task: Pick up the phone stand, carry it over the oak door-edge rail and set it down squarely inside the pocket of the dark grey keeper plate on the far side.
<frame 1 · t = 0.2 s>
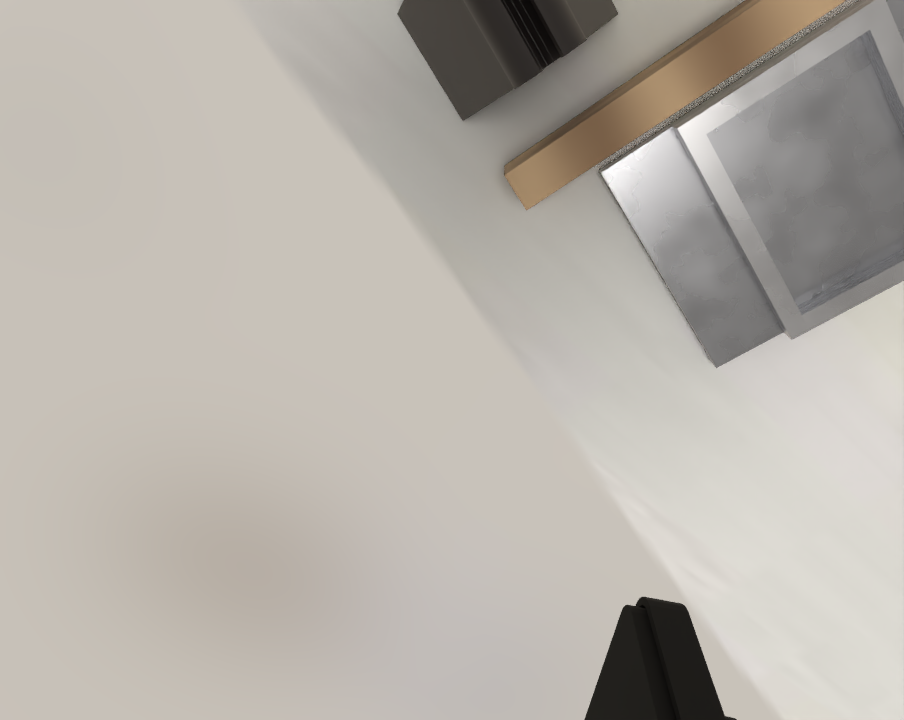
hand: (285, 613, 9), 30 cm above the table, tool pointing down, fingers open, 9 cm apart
door edge rail: (703, 54, 33), on the table
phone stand: (506, 14, 34), on the table
keeper plate: (814, 177, 35), on the table
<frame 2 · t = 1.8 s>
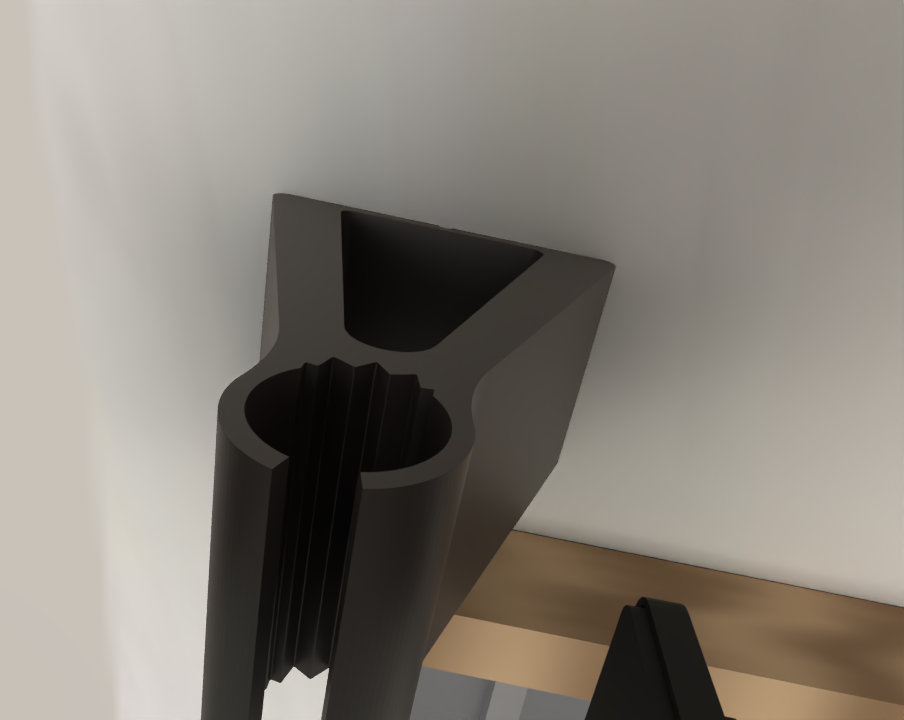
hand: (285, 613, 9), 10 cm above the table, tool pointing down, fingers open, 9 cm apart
door edge rail: (609, 575, 21), on the table
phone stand: (427, 328, 19), on the table
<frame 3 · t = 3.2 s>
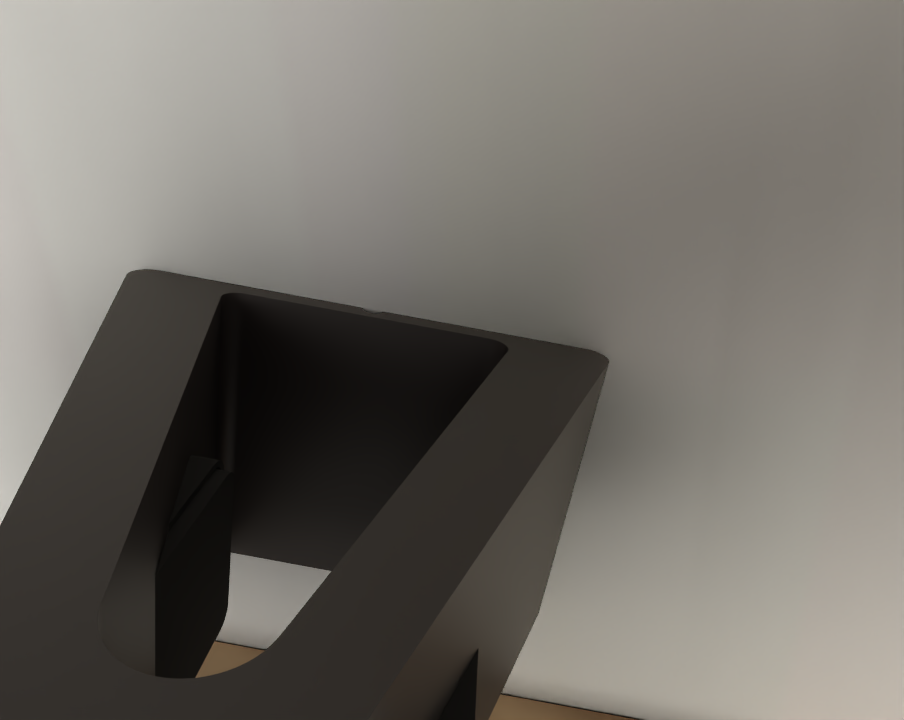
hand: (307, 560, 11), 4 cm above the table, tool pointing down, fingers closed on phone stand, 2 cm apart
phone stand: (356, 440, 14), on the table, touching gripper
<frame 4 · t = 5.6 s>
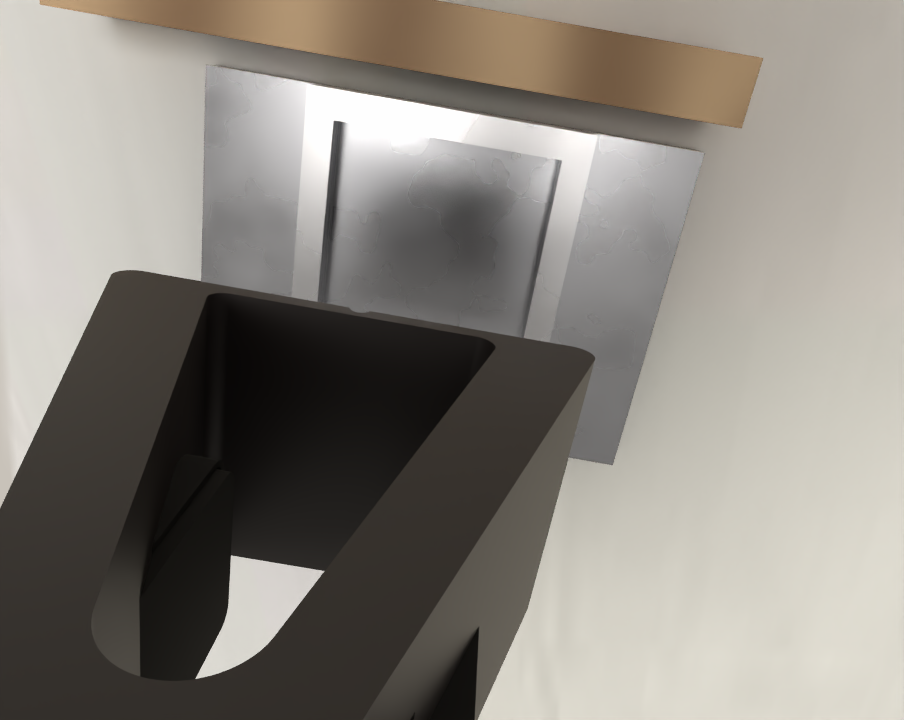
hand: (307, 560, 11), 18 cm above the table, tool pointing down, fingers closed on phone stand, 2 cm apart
door edge rail: (410, 39, 24), on the table
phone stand: (345, 439, 14), point 14 cm above the table, touching gripper
keeper plate: (430, 276, 27), on the table
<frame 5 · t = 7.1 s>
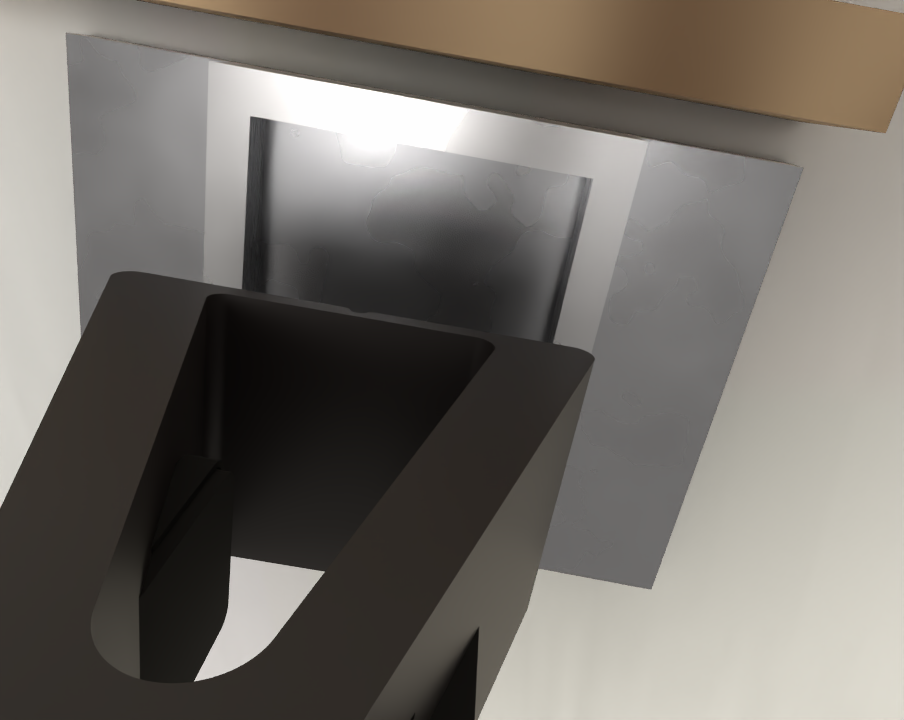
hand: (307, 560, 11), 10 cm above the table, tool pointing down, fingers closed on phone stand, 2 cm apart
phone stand: (344, 440, 14), point 6 cm above the table, touching gripper
keeper plate: (402, 335, 20), on the table
when the fingers open (6 cm above the table, at t = 8.1 s): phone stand stays where it is, resting on keeper plate.
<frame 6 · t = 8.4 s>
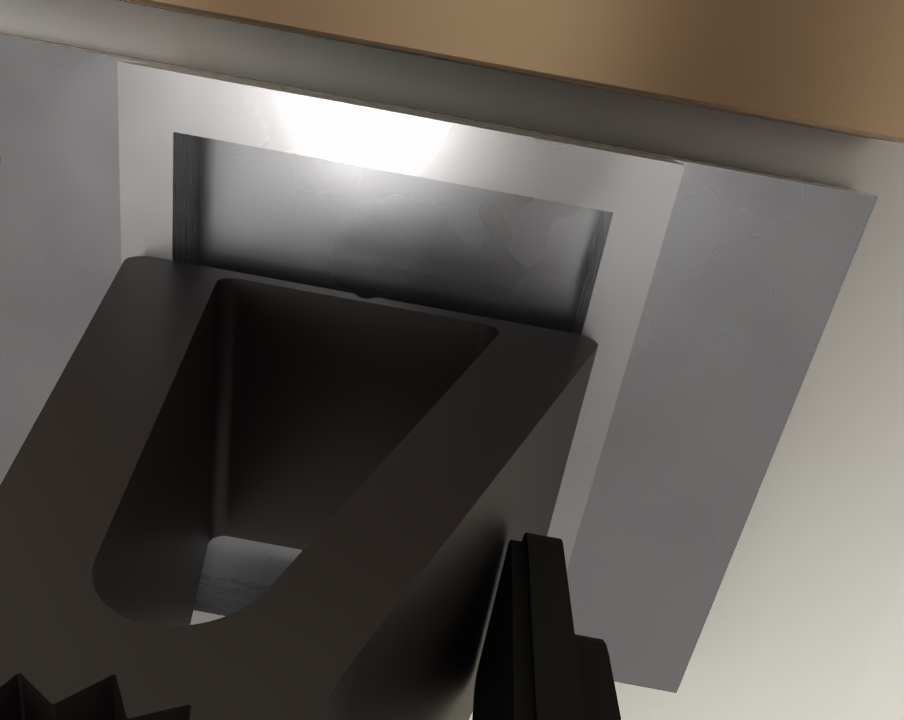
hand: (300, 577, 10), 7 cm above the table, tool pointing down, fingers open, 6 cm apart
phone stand: (351, 425, 14), point 2 cm above the table, touching keeper plate
keeper plate: (376, 394, 16), on the table
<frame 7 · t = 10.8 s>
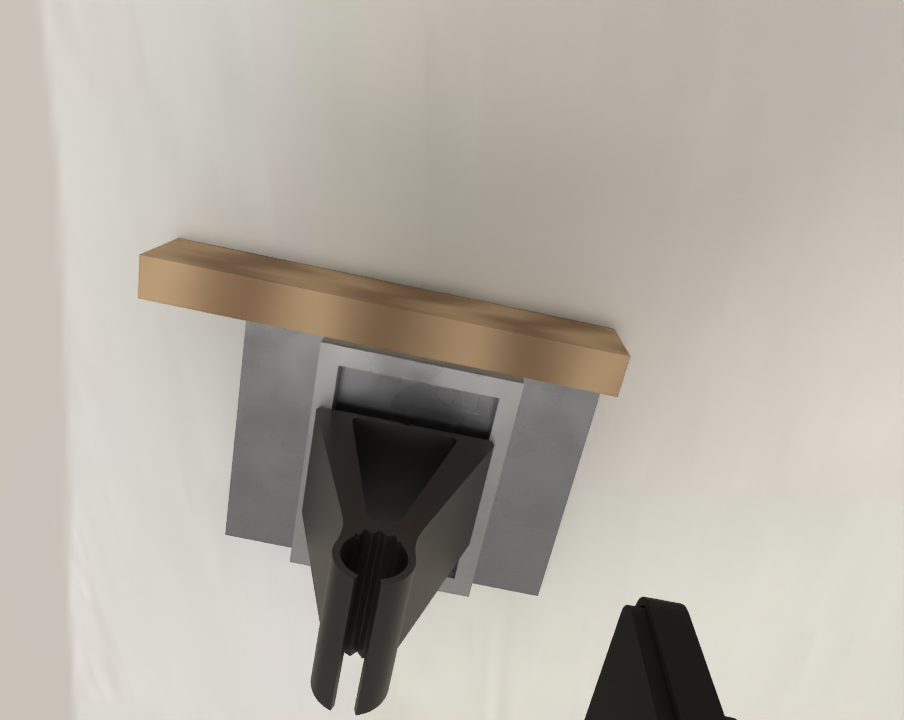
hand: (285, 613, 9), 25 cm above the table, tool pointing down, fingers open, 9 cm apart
door edge rail: (394, 303, 34), on the table
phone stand: (397, 472, 35), point 2 cm above the table, touching keeper plate
keeper plate: (404, 457, 37), on the table
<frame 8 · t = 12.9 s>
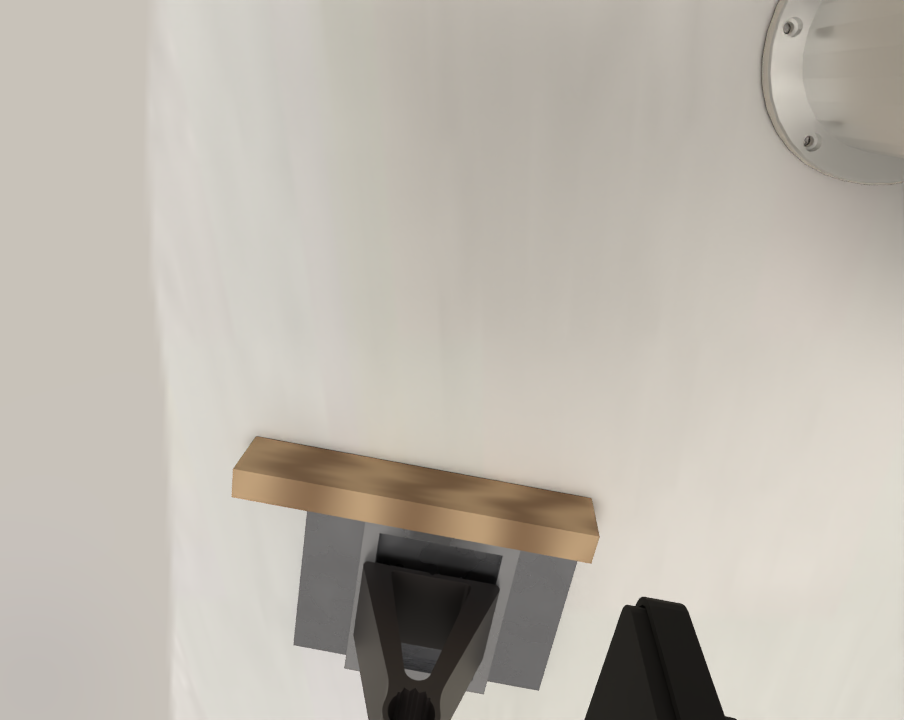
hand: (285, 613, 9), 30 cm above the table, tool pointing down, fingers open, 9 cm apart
door edge rail: (421, 480, 44), on the table
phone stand: (425, 606, 45), point 2 cm above the table, touching keeper plate
keeper plate: (431, 587, 47), on the table
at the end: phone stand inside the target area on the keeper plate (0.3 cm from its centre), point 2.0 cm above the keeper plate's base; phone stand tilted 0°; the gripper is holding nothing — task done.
